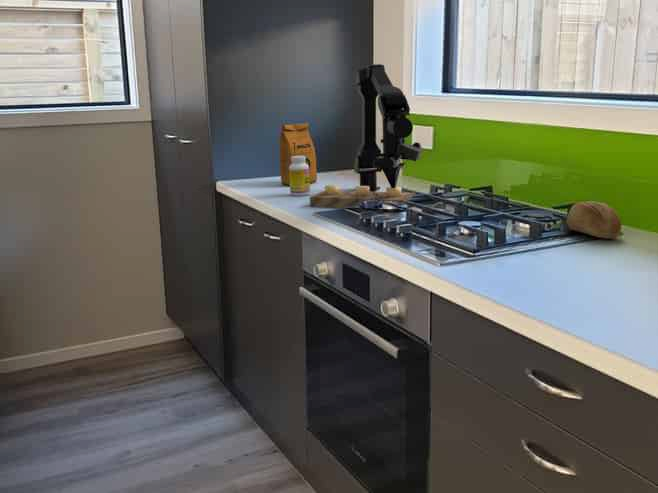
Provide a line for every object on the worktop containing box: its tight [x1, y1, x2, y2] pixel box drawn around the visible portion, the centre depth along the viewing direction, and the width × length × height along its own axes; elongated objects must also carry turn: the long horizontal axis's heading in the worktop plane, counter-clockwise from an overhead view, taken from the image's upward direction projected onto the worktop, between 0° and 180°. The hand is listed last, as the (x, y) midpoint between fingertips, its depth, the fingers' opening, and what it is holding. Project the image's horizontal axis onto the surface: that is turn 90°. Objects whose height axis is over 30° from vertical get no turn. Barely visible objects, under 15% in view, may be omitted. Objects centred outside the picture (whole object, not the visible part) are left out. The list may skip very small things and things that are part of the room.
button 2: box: [385, 186, 402, 197], centre depth 206 cm, size 4×4×5 cm
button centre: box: [354, 185, 370, 196], centre depth 210 cm, size 4×4×5 cm
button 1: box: [324, 184, 340, 195], centre depth 214 cm, size 4×4×5 cm
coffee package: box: [278, 122, 318, 186], centre depth 251 cm, size 10×12×22 cm
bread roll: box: [566, 200, 622, 240], centre depth 163 cm, size 10×15×8 cm, turn 19°
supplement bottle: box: [289, 156, 311, 197], centre depth 231 cm, size 7×7×13 cm
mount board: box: [309, 189, 417, 209], centre depth 211 cm, size 30×12×3 cm, turn 67°
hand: (393, 187), depth 206 cm, fingers closed, pressing on button 2
